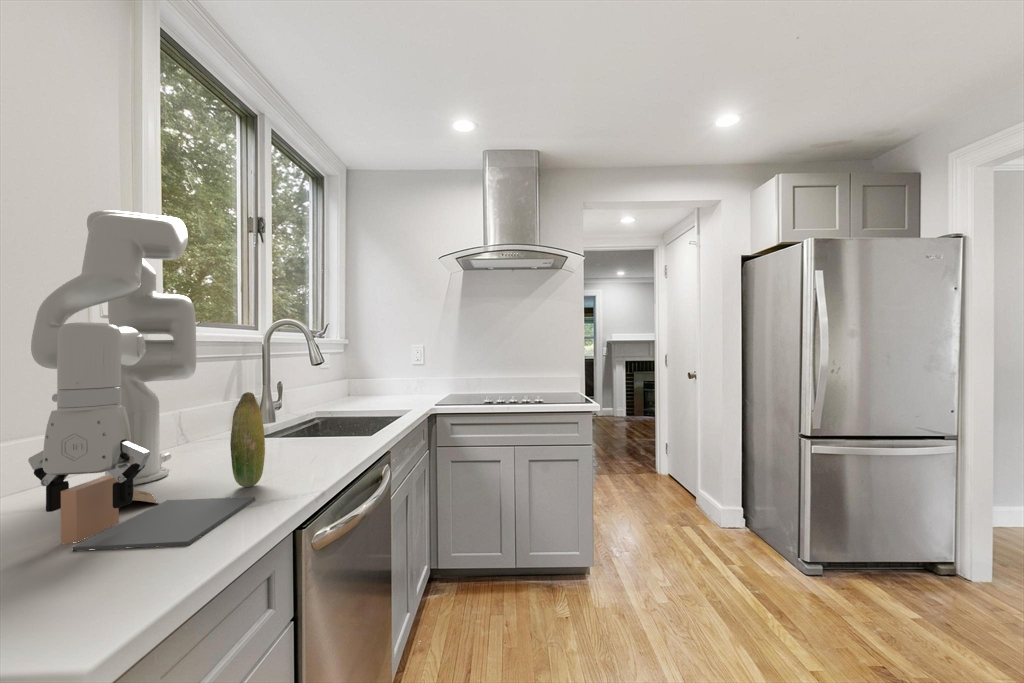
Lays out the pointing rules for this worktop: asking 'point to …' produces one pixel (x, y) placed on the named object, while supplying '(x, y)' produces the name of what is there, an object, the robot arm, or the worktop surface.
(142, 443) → the robot arm
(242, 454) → the vegetable
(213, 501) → the mat
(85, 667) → the worktop surface
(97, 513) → the block
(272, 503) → the worktop surface
